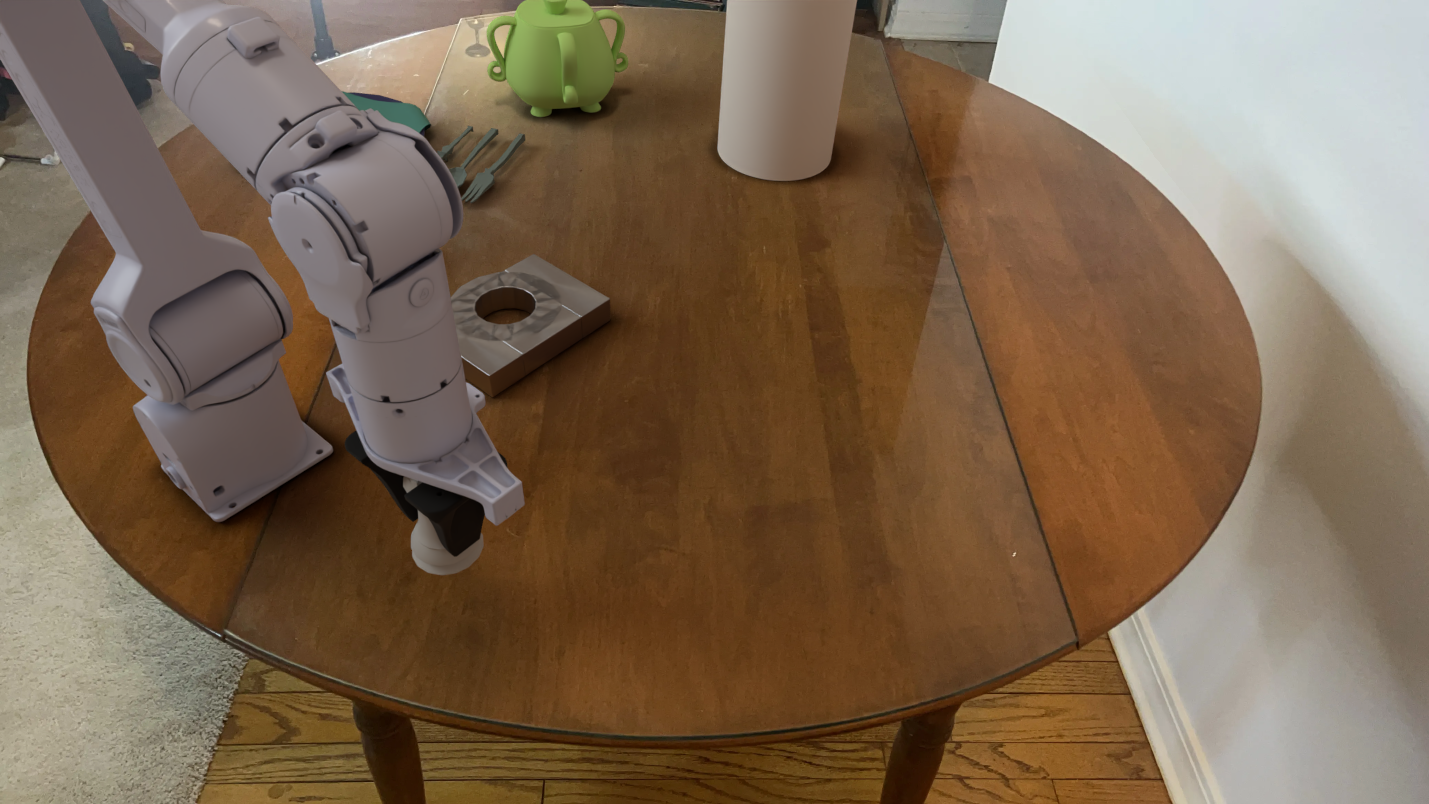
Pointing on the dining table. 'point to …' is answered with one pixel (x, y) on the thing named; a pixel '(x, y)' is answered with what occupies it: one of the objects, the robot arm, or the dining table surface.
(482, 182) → the cutlery set
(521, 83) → the teapot
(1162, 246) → the dining table surface
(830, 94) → the canister
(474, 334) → the stand
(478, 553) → the rook chess piece
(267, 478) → the robot arm
